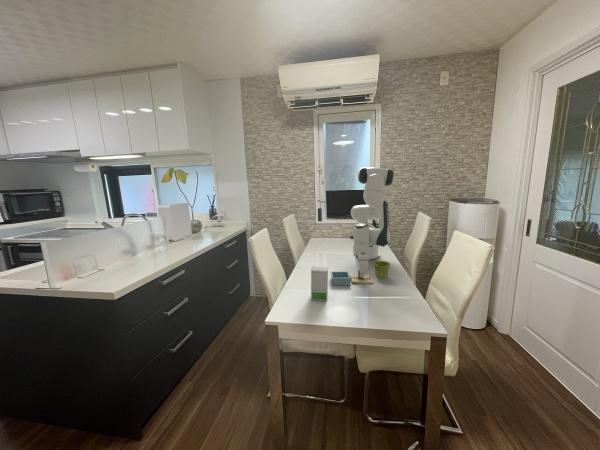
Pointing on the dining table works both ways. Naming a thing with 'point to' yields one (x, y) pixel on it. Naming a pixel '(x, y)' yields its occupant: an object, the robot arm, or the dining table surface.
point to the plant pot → (381, 269)
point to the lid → (361, 279)
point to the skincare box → (319, 283)
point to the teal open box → (340, 278)
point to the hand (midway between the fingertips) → (360, 275)
